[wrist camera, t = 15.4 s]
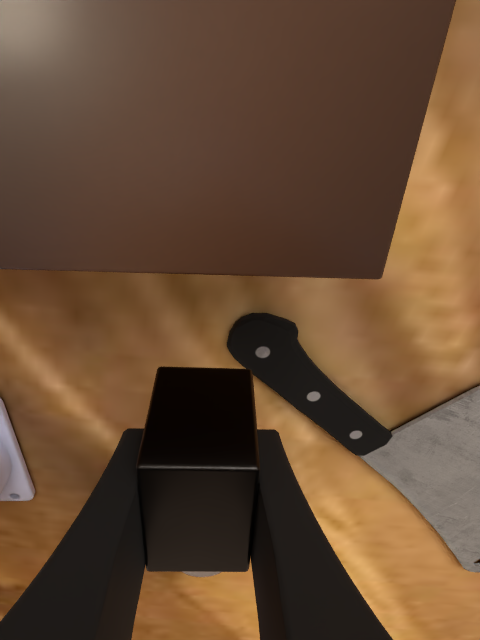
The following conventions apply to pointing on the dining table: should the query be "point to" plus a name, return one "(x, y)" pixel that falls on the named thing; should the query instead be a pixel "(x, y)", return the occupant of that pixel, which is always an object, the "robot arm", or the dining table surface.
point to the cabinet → (211, 133)
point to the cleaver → (380, 432)
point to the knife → (199, 471)
